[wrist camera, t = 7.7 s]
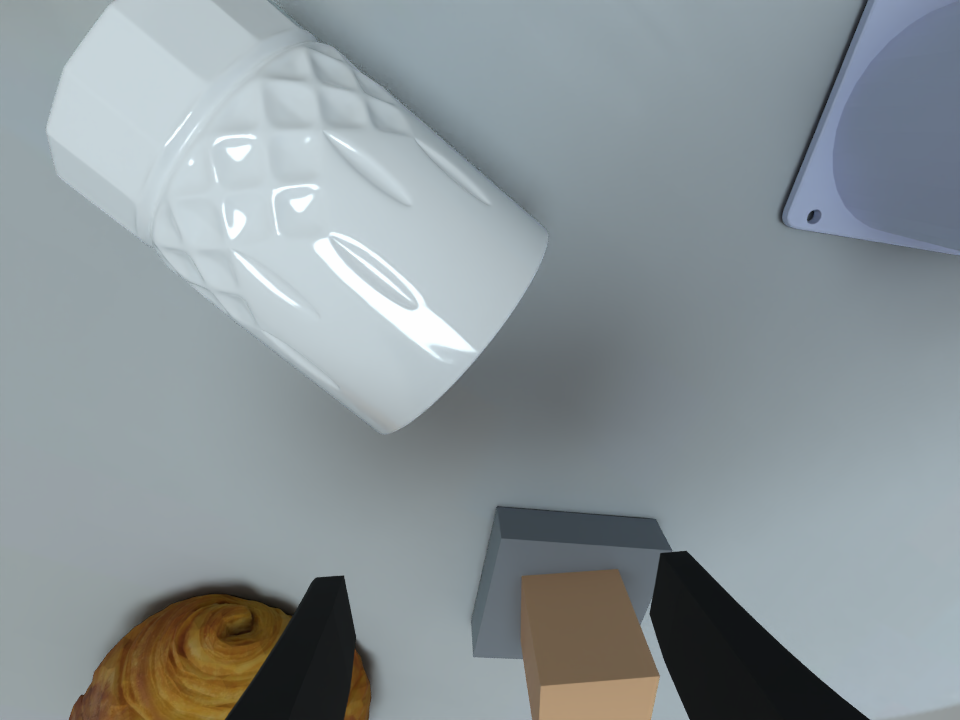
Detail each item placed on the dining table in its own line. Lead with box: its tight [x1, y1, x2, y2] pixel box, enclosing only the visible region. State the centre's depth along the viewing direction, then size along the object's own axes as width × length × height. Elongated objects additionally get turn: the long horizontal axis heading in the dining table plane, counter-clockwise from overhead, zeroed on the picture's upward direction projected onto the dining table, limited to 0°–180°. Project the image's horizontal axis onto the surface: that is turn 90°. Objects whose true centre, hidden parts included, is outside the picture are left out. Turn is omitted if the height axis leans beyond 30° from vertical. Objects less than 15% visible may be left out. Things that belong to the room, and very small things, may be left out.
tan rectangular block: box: [520, 569, 660, 720], centre depth 22 cm, size 4×4×5 cm
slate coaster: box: [471, 507, 672, 659], centre depth 25 cm, size 8×8×2 cm
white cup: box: [46, 0, 549, 434], centre depth 14 cm, size 8×8×10 cm
